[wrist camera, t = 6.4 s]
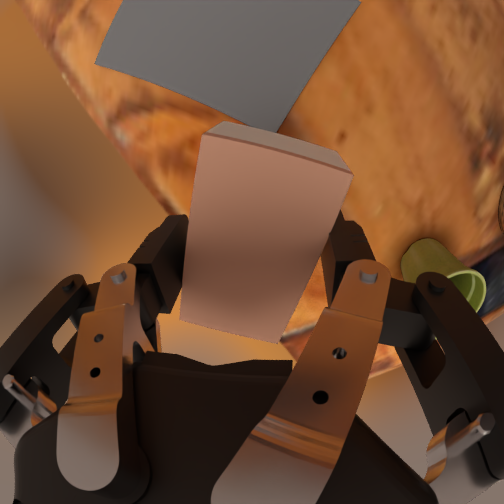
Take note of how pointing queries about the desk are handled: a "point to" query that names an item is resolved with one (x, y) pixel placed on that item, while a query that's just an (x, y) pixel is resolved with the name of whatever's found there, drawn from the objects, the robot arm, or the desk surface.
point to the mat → (227, 50)
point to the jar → (501, 211)
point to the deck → (257, 228)
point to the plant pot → (443, 269)
